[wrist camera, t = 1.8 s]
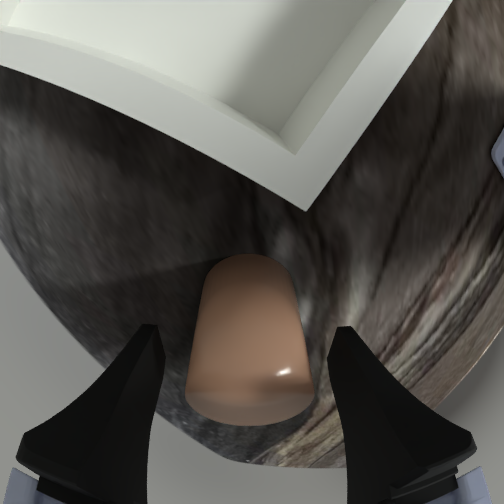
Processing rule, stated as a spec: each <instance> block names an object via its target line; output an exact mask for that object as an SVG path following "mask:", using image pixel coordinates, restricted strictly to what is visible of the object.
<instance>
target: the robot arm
mask: <svg viewBox="0 0 504 504" xmlns="http://www.w3.org/2000/svg"><path fill="white" fill-rule="evenodd" d="M491 155H492V159H493V161H494V163H495V164H496V166H497V168H498V169H499V171H500V173H501V175H502V176H503V178H504V128H503V130H502V132H501V134H500V136H499V137H498V139H497V141H496V143H495V144H494V146H493V148H492V152H491ZM502 159H503V161H502ZM165 359H166V356H165V353H164V349H163V346H162V342H161V338H160V335H159V331H158V327H157V325H150V324H142V325H141V326H140V328H139V329H138V330H137V332H136V333H135V334H134V336H133V337H132V338H131V340H130V341H129V342H128V343H127V345H126V346H125V347H124V349H123V350H122V351H121V352H120V353H119V355H118V356H117V357H116V358H115V360H114V361H113V362H112V363H111V364H110V366H109V367H108V368H107V369H106V370H105V371H104V372H103V373H102V375H101V376H100V377H99V378H98V379H97V380H96V381H95V382H94V383H93V384H92V385H91V386H90V387H89V388H88V389H87V390H86V391H85V392H84V393H83V394H81V395H80V396H79V397H78V398H77V399H76V400H74V401H73V402H72V403H71V404H70V405H68V406H67V407H66V408H64V409H63V410H62V411H60V412H59V413H57V414H56V415H55V416H53V417H52V418H50V419H49V420H47V421H45V422H44V423H42V424H40V425H38V426H37V427H35V428H33V429H31V430H29V431H27V432H25V433H24V435H23V438H22V440H21V443H20V446H19V449H18V452H17V455H16V459H17V461H18V462H19V463H21V464H22V465H23V466H25V467H27V468H28V469H30V470H31V471H33V472H34V473H36V474H38V475H39V476H40V477H39V481H38V480H36V479H34V478H32V477H31V476H29V475H27V474H25V473H23V472H21V471H19V470H18V469H16V468H12V471H11V474H10V478H9V482H8V485H7V490H6V494H5V498H4V502H3V504H147V463H148V449H149V439H150V431H151V425H152V420H153V416H154V412H155V408H156V404H157V400H158V396H159V392H160V388H161V384H162V380H163V374H164V367H165ZM327 362H328V370H329V377H330V382H331V386H332V390H333V393H334V397H335V401H336V405H337V408H338V412H339V416H340V420H341V424H342V429H343V435H344V443H345V452H346V464H347V485H348V486H347V492H348V493H347V504H492V502H491V498H490V494H489V491H488V487H487V484H486V481H485V477H484V474H483V471H482V468H481V467H480V466H479V467H477V468H475V469H474V470H472V471H470V472H468V473H466V474H465V475H463V476H461V477H459V478H457V479H456V477H455V474H456V473H458V469H457V465H459V464H460V463H462V462H463V461H465V460H466V459H467V458H469V457H470V456H472V455H473V454H474V453H475V452H476V450H477V447H476V444H475V442H474V439H473V437H472V434H471V432H469V431H467V430H465V429H463V428H461V427H459V426H457V425H455V424H453V423H452V422H450V421H448V420H446V419H445V418H443V417H442V416H440V415H439V414H437V413H436V412H434V411H433V410H431V409H430V408H429V407H427V406H426V405H425V404H423V403H422V402H421V401H419V400H418V399H417V398H416V397H415V396H413V395H412V394H411V393H410V392H409V391H408V390H407V389H406V388H405V387H403V386H402V385H401V384H400V383H399V382H398V381H397V380H396V379H395V378H394V376H393V375H392V374H391V373H390V372H389V371H388V370H387V369H386V368H385V367H384V365H383V364H382V363H381V362H380V361H379V360H378V358H377V357H376V356H375V355H374V354H373V353H372V351H371V350H370V349H369V348H368V346H367V345H366V344H365V343H364V341H363V340H362V339H361V338H360V336H359V335H358V334H357V333H356V331H355V330H354V329H353V328H352V327H351V326H344V327H337V329H336V333H335V336H334V339H333V342H332V345H331V348H330V351H329V354H328V357H327Z"/></svg>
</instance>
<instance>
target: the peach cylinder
mask: <svg viewBox="0 0 504 504" xmlns="http://www.w3.org/2000/svg"><path fill="white" fill-rule="evenodd" d="M185 397H186V400H187V402H188V403H189V405H190V406H191V407H192V408H193V409H194V410H195V411H197V412H198V413H199V414H201V415H203V416H205V417H207V418H209V419H212V420H214V421H218V422H221V423H226V424H231V425H240V426H257V425H266V424H272V423H277V422H280V421H284V420H286V419H289V418H291V417H293V416H295V415H297V414H299V413H301V412H302V411H303V410H305V409H306V408H307V407H308V406H309V405H310V403H311V402H312V400H313V398H314V385H313V380H312V374H311V369H310V364H309V359H308V353H307V348H306V343H305V338H304V333H303V328H302V323H301V318H300V313H299V309H298V304H297V299H296V294H295V290H294V285H293V281H292V278H291V276H290V274H289V273H288V271H287V270H286V269H285V268H284V267H283V266H282V265H281V264H280V263H279V262H277V261H275V260H274V259H271V258H269V257H266V256H263V255H258V254H239V255H234V256H231V257H228V258H226V259H224V260H222V261H220V262H219V263H217V264H216V265H215V266H214V267H213V268H212V269H211V270H210V271H209V273H208V274H207V276H206V278H205V281H204V286H203V291H202V296H201V301H200V306H199V312H198V317H197V323H196V328H195V334H194V340H193V345H192V351H191V357H190V363H189V369H188V376H187V382H186V388H185Z"/></svg>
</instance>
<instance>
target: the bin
mask: <svg viewBox="0 0 504 504" xmlns="http://www.w3.org/2000/svg"><path fill="white" fill-rule="evenodd" d="M451 2H452V0H0V65H2V66H5V67H8V68H11V69H14V70H17V71H20V72H23V73H26V74H28V75H31V76H34V77H37V78H39V79H42V80H45V81H47V82H50V83H52V84H55V85H58V86H60V87H63V88H65V89H68V90H70V91H73V92H75V93H77V94H80V95H82V96H85V97H87V98H89V99H92V100H94V101H96V102H99V103H101V104H103V105H105V106H108V107H110V108H112V109H114V110H117V111H119V112H121V113H123V114H125V115H128V116H130V117H132V118H134V119H136V120H138V121H140V122H142V123H145V124H147V125H149V126H151V127H153V128H155V129H157V130H159V131H161V132H163V133H165V134H167V135H169V136H171V137H173V138H175V139H177V140H179V141H181V142H183V143H185V144H187V145H189V146H191V147H193V148H195V149H196V150H198V151H200V152H202V153H204V154H206V155H208V156H210V157H212V158H213V159H215V160H217V161H219V162H221V163H223V164H225V165H226V166H228V167H230V168H232V169H234V170H235V171H237V172H239V173H241V174H243V175H244V176H246V177H248V178H250V179H251V180H253V181H255V182H257V183H258V184H260V185H262V186H264V187H265V188H267V189H269V190H271V191H272V192H274V193H276V194H277V195H279V196H281V197H282V198H284V199H286V200H287V201H289V202H291V203H292V204H294V205H296V206H297V207H299V208H301V209H302V210H304V211H307V210H308V208H309V207H310V206H311V204H312V203H313V202H314V200H315V199H316V198H317V196H318V195H319V193H320V192H321V191H322V189H323V188H324V187H325V185H326V184H327V182H328V181H329V180H330V178H331V177H332V175H333V174H334V173H335V171H336V170H337V169H338V167H339V166H340V164H341V163H342V162H343V160H344V159H345V157H346V156H347V155H348V153H349V152H350V150H351V149H352V148H353V146H354V145H355V143H356V142H357V141H358V139H359V138H360V136H361V135H362V133H363V132H364V131H365V129H366V128H367V126H368V125H369V124H370V122H371V121H372V119H373V118H374V116H375V115H376V114H377V112H378V111H379V109H380V108H381V106H382V105H383V103H384V102H385V101H386V99H387V98H388V96H389V95H390V93H391V92H392V90H393V89H394V88H395V86H396V85H397V83H398V82H399V80H400V79H401V77H402V76H403V74H404V73H405V72H406V70H407V69H408V67H409V66H410V64H411V63H412V61H413V60H414V58H415V57H416V55H417V54H418V52H419V51H420V49H421V48H422V46H423V45H424V43H425V42H426V40H427V39H428V37H429V36H430V34H431V33H432V31H433V30H434V28H435V27H436V25H437V24H438V22H439V21H440V19H441V17H442V16H443V14H444V13H445V11H446V10H447V8H448V7H449V5H450V4H451Z"/></svg>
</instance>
